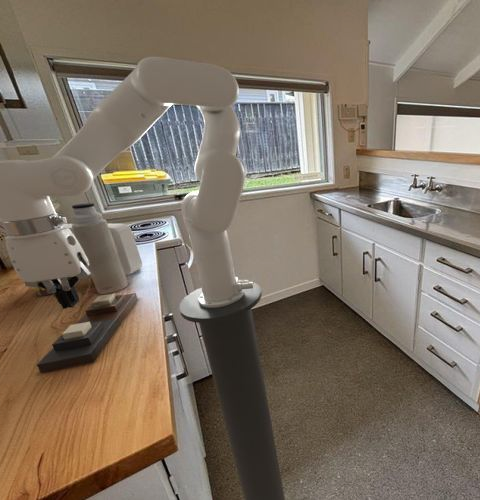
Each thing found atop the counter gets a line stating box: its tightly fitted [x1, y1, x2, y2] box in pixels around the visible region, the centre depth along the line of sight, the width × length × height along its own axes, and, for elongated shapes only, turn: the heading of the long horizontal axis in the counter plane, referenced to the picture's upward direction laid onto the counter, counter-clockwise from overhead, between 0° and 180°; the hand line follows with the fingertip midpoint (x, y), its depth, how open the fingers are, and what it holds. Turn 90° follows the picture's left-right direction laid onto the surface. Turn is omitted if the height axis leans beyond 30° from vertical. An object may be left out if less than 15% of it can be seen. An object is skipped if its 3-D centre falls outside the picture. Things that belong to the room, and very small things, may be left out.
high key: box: [61, 322, 92, 340], centre depth 64 cm, size 4×4×2 cm
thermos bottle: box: [71, 202, 129, 295], centre depth 88 cm, size 8×8×28 cm
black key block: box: [36, 318, 120, 374], centre depth 65 cm, size 9×14×4 cm, turn 19°
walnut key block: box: [75, 292, 138, 326], centre depth 77 cm, size 9×14×4 cm, turn 19°
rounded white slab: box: [62, 223, 143, 276], centre depth 101 cm, size 29×8×18 cm, turn 85°
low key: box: [92, 293, 116, 307], centre depth 77 cm, size 4×4×2 cm
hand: (71, 304), depth 63 cm, fingers closed
